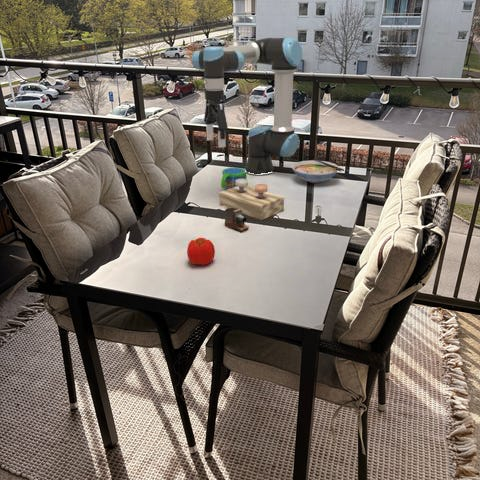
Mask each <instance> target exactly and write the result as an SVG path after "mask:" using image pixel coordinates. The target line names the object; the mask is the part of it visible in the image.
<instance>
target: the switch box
mask: <svg viewBox="0 0 480 480" xmlns="http://www.w3.org/2000/svg"><path fill="white" fill-rule="evenodd" d="M284 204H285V197H284V196H281V195H279V194H275V193H271V192H268V191H267V192H265V193H263V199H259V193H257V192H255V187H252V186H251V187H250V186H249V185H248V186H245V187H244V193H239V187H238V186H236V187H234V188H231V189H228V190H226V189H224V190H222V191H219V206H220V205H221V206H220V207H222V206H225V207H227V208H226V209H228V208H236V209H241V210H242V214H243V215H244V216H245V215H246V216H248V217H251V218H254V219H257V220H260V221H262V220H265V219H267V218H269V217H272V216H274V215H277V214H279V213H281V212H284V209H285V208H284V206H285V205H284ZM225 207H224V208H225Z"/></svg>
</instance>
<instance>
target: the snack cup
mask: <svg viewBox="0 0 480 480" xmlns="http://www.w3.org/2000/svg"><path fill="white" fill-rule="evenodd" d="M221 173H222V177H221V181H220V183H221V184H220V188H222V189H224V190H228V189H231V188H234V187H236V185H235V180H236V179H247V177H248V176H247V173H246V172H245V168H240V167H228V168H224V169H223V170H222V171H221ZM247 180H248V179H247Z"/></svg>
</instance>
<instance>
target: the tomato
mask: <svg viewBox="0 0 480 480" xmlns="http://www.w3.org/2000/svg"><path fill="white" fill-rule="evenodd" d="M215 253H216V249H215V245H214V243H213V242H212V241H211V240H210V239H206V238H205V237H198V238H195V239H191V240H190V241H189V243H188V245H187V249H186V255H187V258H188V260H189V262H190V263H192V264H194V265H201V266H204V265H208V264H210V263H211V261H212V260H213V259H214V258H215V255H216V254H215Z"/></svg>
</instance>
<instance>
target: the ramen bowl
mask: <svg viewBox="0 0 480 480" xmlns="http://www.w3.org/2000/svg"><path fill="white" fill-rule="evenodd" d="M291 169H292V171H293V172H294V174H295V175H296V176H297V177H298V178H299V179H300V180H302V181H305V182H307V183H309V182H310V183H309V184H320V182H321V183H322V182H326V181H329V180H330V179H332V178H333V177H334V176H336V174H337V173H338V172H344V171H345V169H344V168H341V167H339V165H337V164H336V163H333V162H330V161H323V160H318V159H315V158H311V160H302V161H297V162H295V163H293V164H292V165H291Z"/></svg>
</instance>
